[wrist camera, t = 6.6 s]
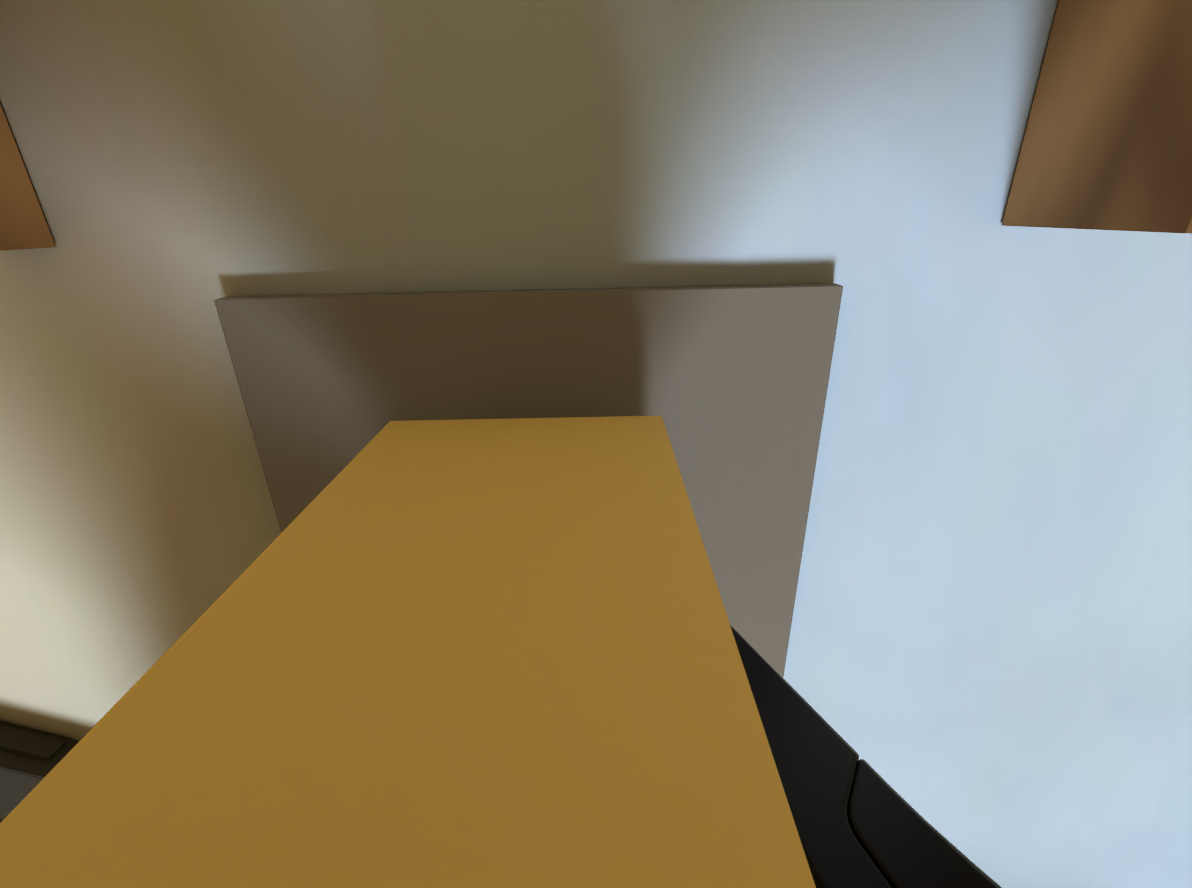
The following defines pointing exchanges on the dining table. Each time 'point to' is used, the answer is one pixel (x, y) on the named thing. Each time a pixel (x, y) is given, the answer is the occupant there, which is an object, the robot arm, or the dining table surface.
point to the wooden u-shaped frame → (1051, 143)
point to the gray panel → (567, 397)
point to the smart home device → (26, 761)
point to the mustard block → (442, 693)
